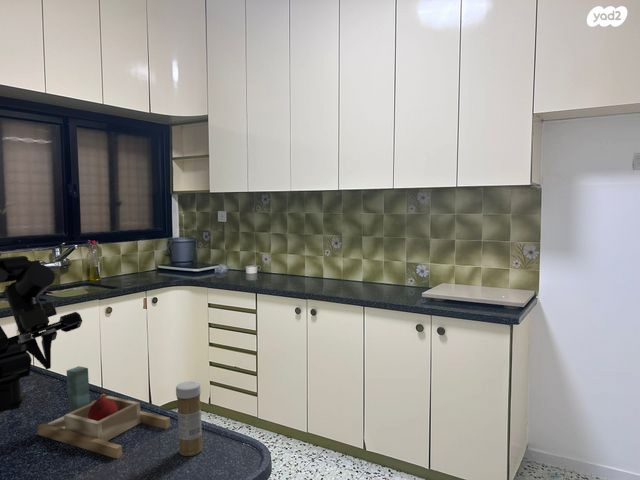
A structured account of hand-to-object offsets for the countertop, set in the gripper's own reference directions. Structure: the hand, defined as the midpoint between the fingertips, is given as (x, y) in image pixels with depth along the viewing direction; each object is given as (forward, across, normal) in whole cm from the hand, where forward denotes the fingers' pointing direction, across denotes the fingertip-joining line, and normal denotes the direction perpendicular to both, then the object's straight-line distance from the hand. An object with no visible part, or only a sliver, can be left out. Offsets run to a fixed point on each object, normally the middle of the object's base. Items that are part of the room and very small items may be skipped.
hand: (48, 368), depth 105 cm
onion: (+18, +5, -5) cm, 19 cm away
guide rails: (+18, +5, -5) cm, 19 cm away
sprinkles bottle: (+30, +15, -22) cm, 40 cm away
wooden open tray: (+16, +4, -3) cm, 17 cm away
